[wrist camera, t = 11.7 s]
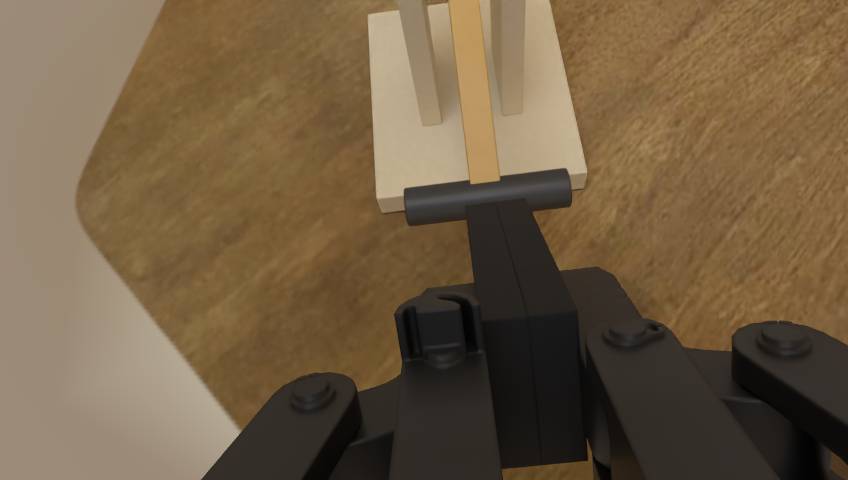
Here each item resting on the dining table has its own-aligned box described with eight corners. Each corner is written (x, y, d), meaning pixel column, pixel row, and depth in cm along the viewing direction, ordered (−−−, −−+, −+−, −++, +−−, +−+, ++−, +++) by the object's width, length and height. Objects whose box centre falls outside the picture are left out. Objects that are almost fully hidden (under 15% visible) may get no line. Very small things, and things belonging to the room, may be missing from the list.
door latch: (584, 188, 31) (633, -50, 19) (381, 214, 32) (301, -1, 20) (545, 8, 37) (563, -269, 24) (372, 33, 37) (305, -224, 25)
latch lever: (565, 207, 25) (576, 205, 22) (411, 226, 25) (405, 226, 23) (525, -134, 25) (531, -173, 22) (370, -109, 25) (360, -145, 23)
